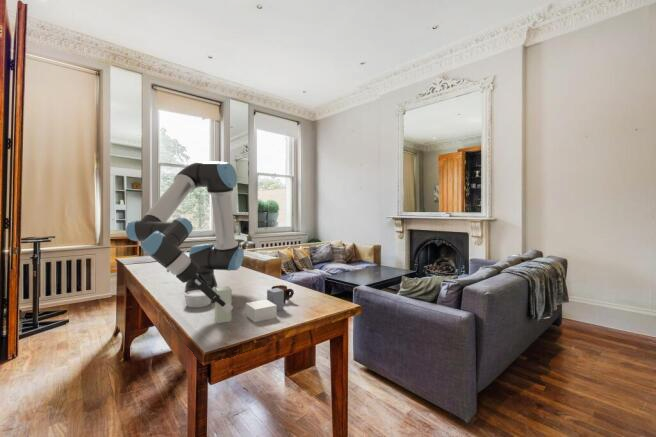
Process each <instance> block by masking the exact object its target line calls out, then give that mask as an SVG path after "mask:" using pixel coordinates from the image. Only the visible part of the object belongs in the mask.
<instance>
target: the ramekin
mask: <svg viewBox="0 0 656 437" xmlns="http://www.w3.org/2000/svg"><path fill="white" fill-rule="evenodd" d="M184 298H185V303H186V304H185V305H186V306H187V307H188V308H192V309H195V308H203V307H207V306H209V305H210V304H212V303H211V302H212V300H211V299H210V298H209V297H207V296H206V295H205V294H204V293H203V292H202V291H201V290H193V291H189V292H186V291H185V293H184Z"/></svg>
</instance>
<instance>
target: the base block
mask: <svg viewBox="0 0 656 437" xmlns="http://www.w3.org/2000/svg"><path fill="white" fill-rule="evenodd" d="M244 315H245V317H247V318H249V319H250V320H251V321H252V322H254V323H256V322H262V321H267V320H270V319H274V318H275V319H276V318H277V305H275V304H273V303H272V302H270V301H268V300H267V299H261V300H256V301H250V302H246V303H245V314H244Z"/></svg>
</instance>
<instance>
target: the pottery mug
mask: <svg viewBox="0 0 656 437" xmlns="http://www.w3.org/2000/svg"><path fill="white" fill-rule="evenodd" d="M274 288H279V289H281V290H284V304H286V301H289V300H290V299H291V298H293V296H294V294H295V293H294V292H295V291H294V289H292V288H288V286H287V285H282V284H281V285H280V284H279V285H273V286H272V287H271V289H274Z"/></svg>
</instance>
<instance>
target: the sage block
mask: <svg viewBox="0 0 656 437" xmlns="http://www.w3.org/2000/svg"><path fill="white" fill-rule="evenodd" d="M215 292H216V293H217V294H218V295H219V296H221V297H222V298H223V299H224V300H226V301H227V302H228V303H229V304H230V305H232V300H233V298H232V296H233V295H232V293H233V291H232V288H231V287H230V286H228V285H227V286H219V287H218V286H217V287H216V288H215ZM214 320H215V322H216V324H222V323H228V322H232V310H231V311H230V312H229V313H227V312H226V311H224V310H223V309H222V308H221V307H220V306H218V305H217V304H216V303H214Z"/></svg>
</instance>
